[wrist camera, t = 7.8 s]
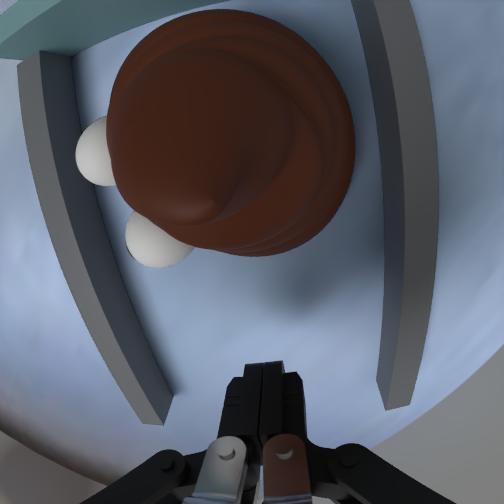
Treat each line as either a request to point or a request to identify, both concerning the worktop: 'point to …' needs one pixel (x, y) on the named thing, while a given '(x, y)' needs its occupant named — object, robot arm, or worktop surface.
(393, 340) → the channel
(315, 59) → the poop emoji
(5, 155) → the worktop surface
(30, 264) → the worktop surface
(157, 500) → the robot arm
